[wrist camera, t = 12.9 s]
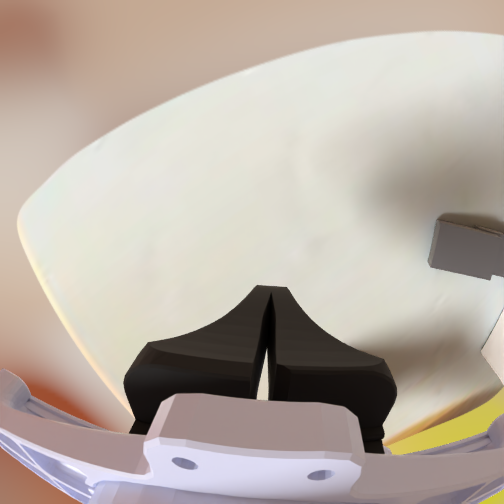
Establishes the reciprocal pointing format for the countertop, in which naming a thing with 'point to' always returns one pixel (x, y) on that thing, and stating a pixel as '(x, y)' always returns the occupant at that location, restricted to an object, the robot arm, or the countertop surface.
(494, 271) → the domino
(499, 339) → the milk carton
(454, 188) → the countertop surface
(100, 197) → the countertop surface
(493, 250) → the domino
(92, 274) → the countertop surface
